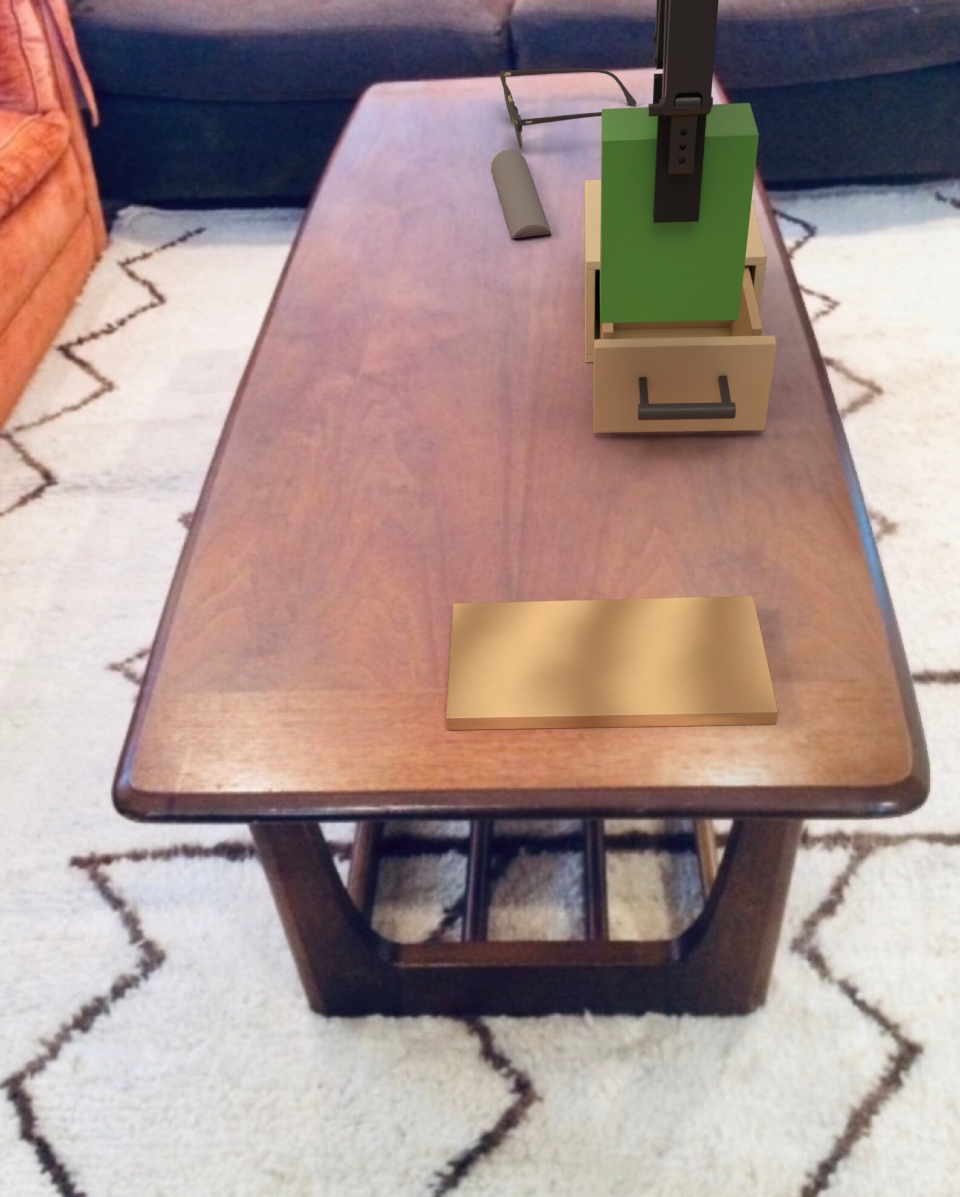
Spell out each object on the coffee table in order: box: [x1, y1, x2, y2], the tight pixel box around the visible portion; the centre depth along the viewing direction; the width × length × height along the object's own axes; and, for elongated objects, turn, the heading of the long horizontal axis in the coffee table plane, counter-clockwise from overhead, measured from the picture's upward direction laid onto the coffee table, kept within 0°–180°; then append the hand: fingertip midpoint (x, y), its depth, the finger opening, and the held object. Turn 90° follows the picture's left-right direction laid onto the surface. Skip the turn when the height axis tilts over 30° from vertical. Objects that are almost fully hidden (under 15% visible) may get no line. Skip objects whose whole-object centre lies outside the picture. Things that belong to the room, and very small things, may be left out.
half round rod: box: [490, 149, 552, 239], centre depth 120 cm, size 4×20×2 cm, turn 6°
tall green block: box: [600, 102, 760, 323], centre depth 70 cm, size 5×9×12 cm, turn 86°
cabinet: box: [583, 179, 768, 363], centre depth 98 cm, size 16×15×10 cm
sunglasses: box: [499, 67, 637, 151], centre depth 132 cm, size 16×17×5 cm
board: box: [445, 595, 779, 731], centre depth 70 cm, size 20×10×1 cm, turn 88°
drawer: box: [592, 265, 778, 434], centre depth 87 cm, size 19×13×8 cm
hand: (673, 198), depth 69 cm, fingers closed on tall green block, 5 cm apart
